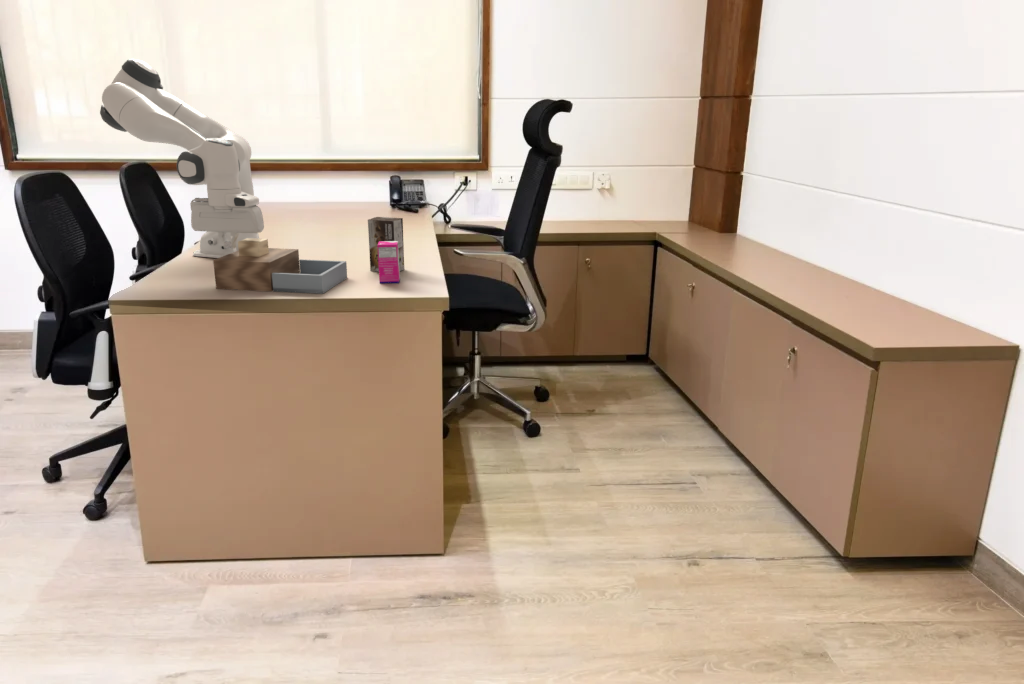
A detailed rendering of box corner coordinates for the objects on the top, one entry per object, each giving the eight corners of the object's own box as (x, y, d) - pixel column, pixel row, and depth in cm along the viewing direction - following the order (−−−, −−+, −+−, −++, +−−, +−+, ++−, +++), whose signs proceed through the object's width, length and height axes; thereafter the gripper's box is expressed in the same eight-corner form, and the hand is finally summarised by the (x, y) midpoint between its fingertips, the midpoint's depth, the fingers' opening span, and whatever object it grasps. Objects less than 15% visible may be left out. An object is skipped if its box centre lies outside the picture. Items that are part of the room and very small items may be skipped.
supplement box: (380, 279, 221) (378, 240, 217) (400, 279, 221) (399, 240, 218) (378, 283, 215) (377, 244, 212) (399, 283, 216) (398, 244, 212)
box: (273, 291, 204) (271, 273, 203) (301, 275, 223) (300, 259, 222) (322, 293, 203) (321, 275, 201) (347, 277, 222) (346, 261, 220)
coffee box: (405, 269, 235) (403, 217, 230) (395, 273, 229) (394, 220, 224) (379, 267, 237) (377, 216, 233) (369, 270, 232) (367, 218, 227)
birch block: (239, 255, 210) (237, 241, 209) (248, 251, 216) (247, 238, 214) (259, 256, 209) (258, 242, 208) (268, 252, 215) (267, 238, 214)
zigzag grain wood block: (216, 288, 206) (213, 260, 204) (249, 273, 225) (246, 247, 223) (271, 291, 204) (269, 262, 202) (300, 275, 223) (298, 249, 221)
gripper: (183, 198, 207) (189, 248, 211) (254, 201, 204) (258, 251, 208) (195, 196, 213) (201, 244, 217) (264, 198, 210) (268, 247, 214)
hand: (229, 247), depth 213 cm, fingers closed
